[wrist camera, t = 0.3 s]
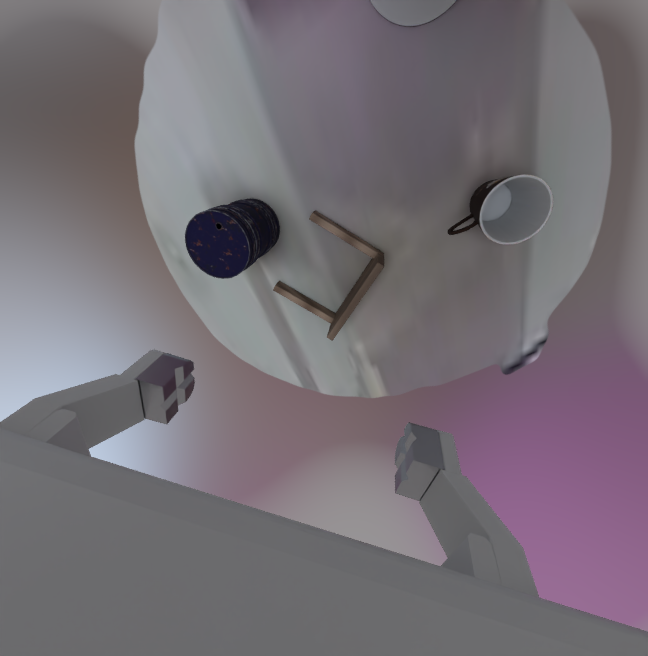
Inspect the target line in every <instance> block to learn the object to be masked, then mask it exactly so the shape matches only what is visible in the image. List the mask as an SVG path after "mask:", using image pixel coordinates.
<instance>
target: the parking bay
mask: <svg viewBox="0 0 648 656" xmlns="http://www.w3.org/2000/svg"><path fill="white" fill-rule="evenodd" d="M309 219H310V220H311V221H313V222H315V223H316V224H318V225H319V226H321V227H323V228H324V229H326V230H328V231H329V232H331V233H332V234H334V235H336V236H337V237H339V238H341V239H342V240H344V241H345V242H347V243H349V244H350V245H352V246H354V247H355V248H357V249H358V250H360V251H362V252H363V253H365V254H367V255H368V256H370V257H371V258H372V259H371V261H370V262H369V264H368V265H367V267H366V268H365V270H364V271H363V273H362V274H361V276H360V278H359V279H358V281H357V282H356V284H355V285H354V287H353V288H352V290H351V291H350V293H349V294H348V296H347V297H346V299H345V300H344V302H343V303H342V305H341V306H340V308H339V309H338V311H337V312H336V313H334V312H332V311H330V310H329V309H327V308H325V307H324V306H322V305H320V304H318V303H317V302H315V301H313V300H311V299H310V298H308V297H306V296H305V295H303V294H301V293H299V292H298V291H296V290H294V289H293V288H291V287H289V286H287V285H286V284H284V283H282V282H281V281H279V282H278V283H277V284H276V285H275V287H274V289H273V290H274V291H275V292H277V293H279V294H281V295H282V296H284V297H286V298H288V299H289V300H291V301H293V302H294V303H296V304H298V305H300V306H301V307H303V308H305V309H307V310H308V311H310V312H312V313H314V314H315V315H317V316H319V317H320V318H322V319H324V320H326V321H327V322H329V323H331V325H330V328H329V332H328V335H327V338H329V339H330V340H332V341H333V339H334V338H335V336H336V335H337V333H338V332H339V331H340V329H341V328H342V326H343V325H344V323H345V322H346V320H347V319H348V318H349V316H350V315H351V313H352V312H353V310H354V309H355V308H356V306H357V305H358V303H359V302H360V300H361V299H362V297H363V296H364V295H365V293H366V292H367V290H368V289H369V287H370V286H371V285H372V283H373V282H374V280H375V279H376V277H377V276H378V275H379V273H380V272H381V270H382V269H383V267H384V253H383V252H381V251H380V250H378V249H376V248H375V247H373V246H371V245H370V244H368V243H367V242H365V241H363V240H362V239H360V238H359V237H357V236H355V235H354V234H352V233H351V232H349V231H347V230H346V229H344V228H342V227H341V226H339V225H338V224H336V223H334V222H333V221H331V220H330V219H328V218H326V217H325V216H323V215H321V214H320V213H318V212H317V211H314V212H313V213H312V214H311V216H310V218H309Z"/></svg>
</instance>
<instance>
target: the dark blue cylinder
mask: <svg viewBox="0 0 648 656" xmlns="http://www.w3.org/2000/svg"><path fill="white" fill-rule="evenodd" d="M279 232H280V226H279V221H278V218H277V216H276V214H275V212H274V211H273V210H272V208H271V207H270V206H269V205H267V204H266V203H264V202H263V201H260V200H258V199H244V200H238V201H235V202H232V203H230V204H228V205H220V206H217V207H214V208H211V209H208V210H206V211H203V212H200V213H198V214H196V215H195V216H194V217H193V218H192V219H191V220H190V221H189V223H188V225H187V228H186V232H185V243H186V247H187V250H188V253H189V255H190V257H191V259H192V260H193V262H194V263H195V264H196V265H197V266H198V267H199V268H200V269H201V270H202V271H204V272H205V273H207V274H208V275H210V276H213V277H216V278H222V279H226V278H232V277H234V276H237V275H238V274H240V273H241V272H242V271H244V270H246V269H247V268H248V267H250V266H251V265H252V264H253V263H254V262H255V261H256V260H257V259H258V258H260V257H261V256H263V255H264V254H266V253H267V252H268V251H269V250H270V249H271V248H272V247H273V246H274V245H275V243H276V242H277V240H278V237H279Z"/></svg>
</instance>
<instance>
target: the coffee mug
mask: <svg viewBox="0 0 648 656" xmlns="http://www.w3.org/2000/svg"><path fill="white" fill-rule="evenodd" d="M552 208H553V194H552V191H551V189H550V187H549V185H548V184H547V183H546V182H545V181H544V180H543V179H541V178H539V177H537V176H533V175H517V176H512V177H507V178H502V179H497V180H492V181H489V182H486V183H484V184H483V185H481V186H480V187H479V188H478V189H477V190H476V191H475V192H474V194H473V196H472V198H471V201H470V212H471V214H470V215H469V216H468V217H466V218H464V219H463V220H461V221H460V222H458V223H456V224H455V225H454V226H452V227H451V228H450V229H449V230H448V234H449V235H454V234H458V233H461V232H464V231H467V230H469V229H470V228H472V227H474V226H475V225H477V224H478V225H479V227H480V228H481V230H482V231H483V233H484V234H485V235H486V237H488V238H489V239H490V240H492V241H494V242H495V243H499V244H505V245H510V244H517V243H520V242H523V241H525V240H527V239H529V238H531V237H532V236H534V235H535V234H536V233H537V232H539V231H540V230H541V229H542V227H543V226H544V225H545V224H546V222H547V220H548V219H549V217H550V214H551V212H552ZM472 217H474V219H475V221H474V222H473V223H472V224H471V225H469V226H467V227H464V228H462V229H459V230H455V231H453V230H454V229H455V228H456V227H458V226H459V225H461V224H462V223H464V222H466V221H467V220H469V219H470V218H472Z"/></svg>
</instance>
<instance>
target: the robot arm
mask: <svg viewBox="0 0 648 656" xmlns="http://www.w3.org/2000/svg"><path fill="white" fill-rule="evenodd" d="M370 1H371V3H372V4H373V6H374V7H375V9H376V10H377V11H378V12H379V13H380V14H381V15H382V16H383V17H384V18H386V19H387V20H389V21H391V22H393V23H395V24H398V25H403V26H416V25H421V24H424V23H427V22H429V21H432V20H433V19H435V18H437V17H438V16H440V15H441V14H443V13H444V12H445V11H446V10H448V9H449V8H450V7H451V6H452V5H453V4H454V3H455V1H456V0H370ZM193 370H194V364H193V362H192V361H191V360H187V359H184V358H181V357H178V356H175V355H171V354H168V353H164V352H161V351H158V350H151V351H149V352H148V353H147V354H145V355H144V356H143V357H142V358H140V359H139V360H138V361H137V362H136V363H134V364H133V365H132V366H131V367H129V368H128V369H127V370H126V371H124V372H123V373H122V374H121V375H117V374H115V375H111V376H108V377H105V378H101V379H98V380H95V381H92V382H88V383H85V384H81V385H78V386H75V387H72V388H68V389H65V390H62V391H58V392H55V393H52V394H49V395H45V396H42V397H38V398H35V399H33V400H32V401H31V402H29V403H28V404H26V405H25V406H23V407H22V408H20V409H19V410H17V411H16V412H15V413H13V414H12V415H10V416H9V417H7V418H6V419H4V420H3V421H2V422H0V656H648V632H647V631H644V630H641V629H638V628H634V627H631V626H628V625H625V624H622V623H619V622H615V621H612V620H609V619H606V618H603V617H599V616H596V615H593V614H590V613H587V612H584V611H580V610H577V609H574V608H571V607H568V606H564V605H561V604H558V603H555V602H552V601H548V600H545V599H542V598H539V595H538V592H537V589H536V586H535V583H534V580H533V577H532V574H531V571H530V568H529V565H528V562H527V558H526V556H525V552H524V549H523V547H522V546H521V545H520V543H519V542H518V541H517V540H516V538H515V537H514V536H513V535H512V533H511V532H510V531H509V530H508V528H507V527H506V526H505V525H504V524H503V522H502V521H501V520H500V518H499V517H498V516H497V515H496V513H494V511H493V510H492V508H491V507H490V506H489V505H488V503H487V502H486V501H485V500H484V498H483V497H482V496H481V495H480V493H479V492H478V491H477V490H476V488H475V487H474V486H473V485H472V483H471V482H470V481H469V480H468V478H467V477H465V476H462V474H461V469H460V465H459V460H458V456H457V451H456V447H455V442H454V437H453V435H452V434H450V433H446V432H443V431H439V430H434V429H431V428H428V427H424V426H420V425H417V424H413V423H410V422H409V423H408V424H407V425H406V427H405V429H404V433H405V436H403V437H401V438H400V440H399V442H398V444H397V448H396V453H395V465H396V466H397V468H398V470H397V472H396V475H395V493H396V494H399V495H402V496H405V497H408V498H411V499H414V500H417V501H420V505H421V507H422V509H423V511H424V512H425V514H426V516H427V518H428V520H429V522H430V524H431V526H432V528H433V530H434V532H435V534H436V536H437V537H438V540H439V542H440V544H441V546H442V548H443V549H444V551H445V553H446V555H447V557H448V559H447V560H446V561H445V562H444V563H443V564H442V565H441V566H437V565H434V564H431V563H428V562H425V561H421V560H418V559H415V558H412V557H409V556H405V555H402V554H399V553H396V552H392V551H390V550H386V549H383V548H380V547H376V546H374V545H371V544H367V543H364V542H361V541H358V540H354V539H351V538H348V537H345V536H342V535H339V534H335V533H332V532H329V531H326V530H323V529H320V528H316V527H313V526H310V525H307V524H304V523H301V522H297V521H294V520H291V519H288V518H285V517H281V516H278V515H275V514H272V513H268V512H265V511H262V510H259V509H256V508H252V507H249V506H246V505H243V504H240V503H237V502H234V501H231V500H227V499H224V498H221V497H218V496H215V495H211V494H208V493H205V492H202V491H199V490H196V489H192V488H189V487H186V486H182V485H180V484H177V483H173V482H170V481H167V480H164V479H161V478H157V477H154V476H151V475H148V474H145V473H141V472H138V471H135V470H132V469H129V468H126V467H123V466H119V465H116V464H113V463H110V462H107V461H103V460H100V459H97V458H94V457H91V455H90V452H89V448H91V447H93V446H95V445H97V444H99V443H101V442H103V441H105V440H106V439H108V438H110V437H112V436H114V435H116V434H118V433H120V432H122V431H124V430H125V429H128V428H129V427H131V426H133V425H135V424H137V423H139V422H141V421H143V420H144V418H145V419H149V420H152V421H156V422H160V423H164V424H168V423H169V421H170V420H171V419H172V418H173V416H174V415H175V414H176V413H177V412H178V405H180V404H182V403H184V402H186V401H187V400H188V398H189V397H190V395H191V393H192V391H193V389H194V383H195V382H194V377H193V376H192V374H191V372H192V371H193Z"/></svg>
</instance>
